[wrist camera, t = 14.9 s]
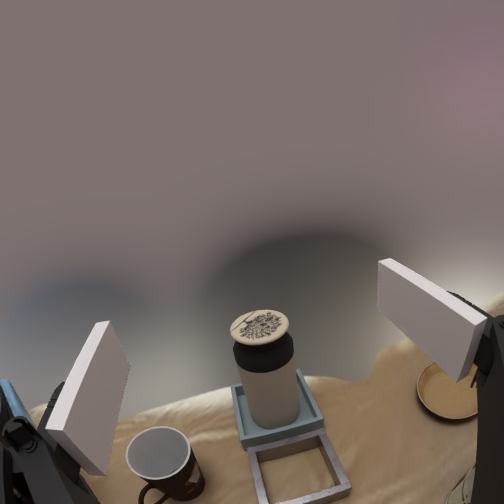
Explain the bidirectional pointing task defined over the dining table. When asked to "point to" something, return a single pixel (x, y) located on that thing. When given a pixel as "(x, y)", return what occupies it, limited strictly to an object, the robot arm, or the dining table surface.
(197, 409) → the dining table surface
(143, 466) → the coffee mug
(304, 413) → the tray
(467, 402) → the plant saucer
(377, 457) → the dining table surface
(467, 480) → the coffee can
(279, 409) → the travel mug
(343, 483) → the socket collar
